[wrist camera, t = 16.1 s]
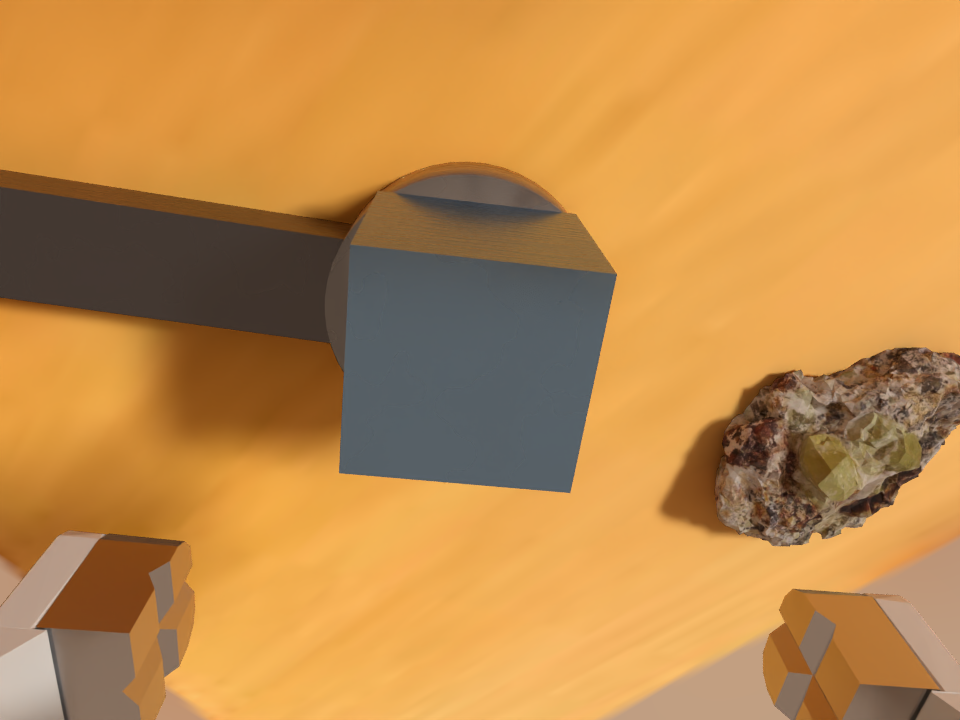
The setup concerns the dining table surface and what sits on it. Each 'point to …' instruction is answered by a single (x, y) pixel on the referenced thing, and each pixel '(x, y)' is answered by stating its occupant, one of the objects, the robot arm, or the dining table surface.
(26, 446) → the dining table surface
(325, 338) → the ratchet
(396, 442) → the slate grey cube
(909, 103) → the dining table surface
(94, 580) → the robot arm
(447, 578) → the dining table surface
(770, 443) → the mineral rock
